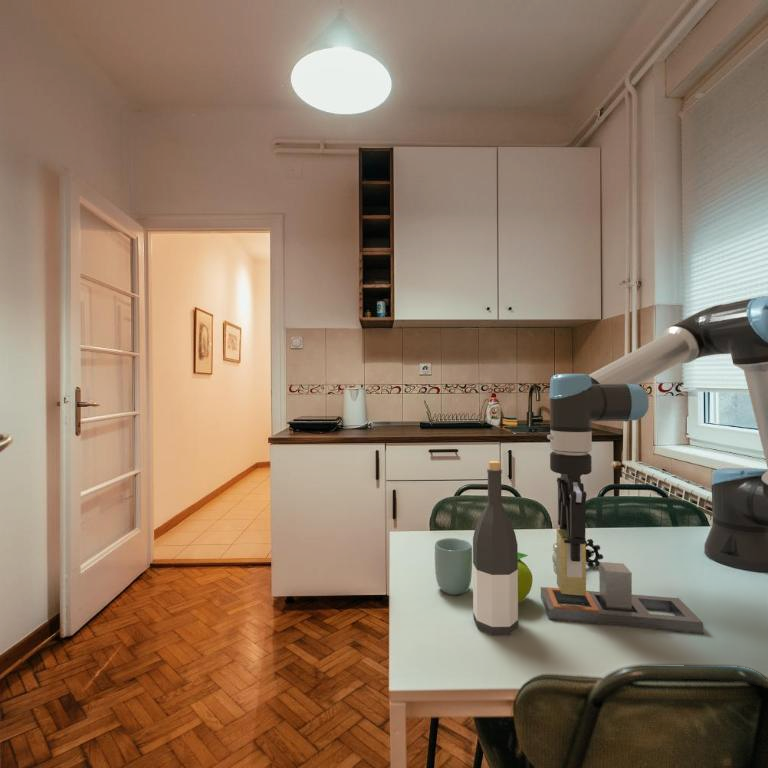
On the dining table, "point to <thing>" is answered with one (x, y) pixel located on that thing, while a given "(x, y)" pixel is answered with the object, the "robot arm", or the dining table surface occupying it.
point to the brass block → (565, 583)
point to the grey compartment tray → (636, 618)
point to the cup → (453, 565)
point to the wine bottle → (495, 564)
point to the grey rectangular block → (615, 587)
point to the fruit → (523, 578)
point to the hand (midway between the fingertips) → (571, 570)
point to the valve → (588, 555)
